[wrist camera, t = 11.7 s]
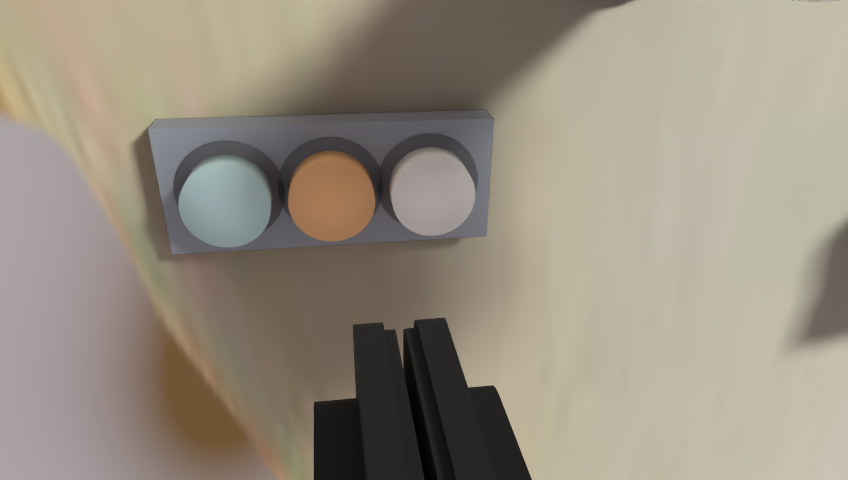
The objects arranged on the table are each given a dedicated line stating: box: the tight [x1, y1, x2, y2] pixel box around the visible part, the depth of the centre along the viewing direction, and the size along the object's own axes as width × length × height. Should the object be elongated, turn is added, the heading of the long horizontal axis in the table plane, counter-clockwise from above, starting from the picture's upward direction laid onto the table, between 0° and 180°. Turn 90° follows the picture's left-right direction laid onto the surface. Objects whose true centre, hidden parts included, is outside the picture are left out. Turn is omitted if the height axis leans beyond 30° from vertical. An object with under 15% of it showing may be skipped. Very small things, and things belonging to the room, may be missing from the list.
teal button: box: [178, 155, 273, 247], centre depth 36 cm, size 5×5×2 cm
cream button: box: [389, 147, 475, 236], centre depth 38 cm, size 5×5×2 cm
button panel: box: [148, 110, 494, 254], centre depth 39 cm, size 20×8×2 cm, turn 89°
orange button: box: [288, 151, 375, 241], centre depth 37 cm, size 5×5×2 cm
